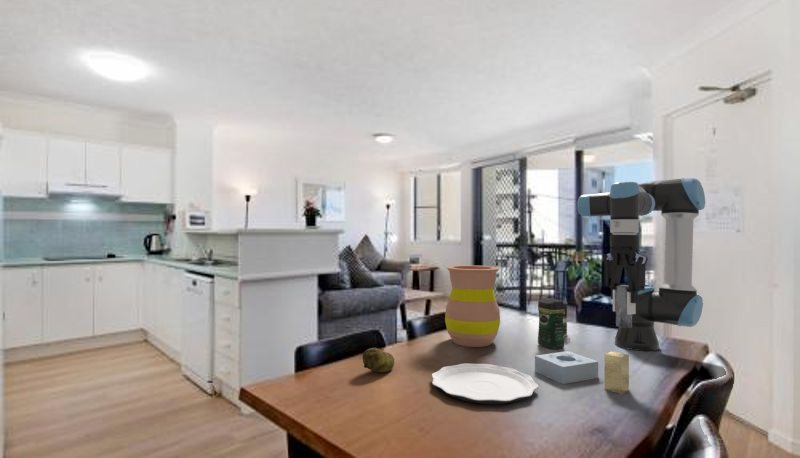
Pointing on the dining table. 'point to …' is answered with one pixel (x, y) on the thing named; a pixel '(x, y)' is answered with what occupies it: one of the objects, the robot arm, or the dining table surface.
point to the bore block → (566, 367)
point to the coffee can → (565, 318)
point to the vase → (472, 306)
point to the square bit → (617, 372)
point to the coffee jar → (551, 323)
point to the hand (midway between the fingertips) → (623, 312)
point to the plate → (484, 383)
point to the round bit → (622, 307)
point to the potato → (378, 360)
